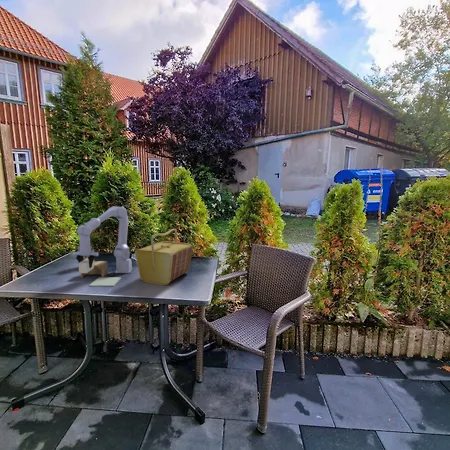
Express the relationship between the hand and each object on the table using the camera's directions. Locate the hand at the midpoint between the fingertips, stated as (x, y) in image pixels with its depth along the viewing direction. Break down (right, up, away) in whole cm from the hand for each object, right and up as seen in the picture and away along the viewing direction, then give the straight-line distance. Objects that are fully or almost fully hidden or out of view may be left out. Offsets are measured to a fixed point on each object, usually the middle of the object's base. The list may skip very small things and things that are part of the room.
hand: (86, 267), depth 177 cm
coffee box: (-14, -4, +31) cm, 34 cm away
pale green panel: (+11, -9, +1) cm, 15 cm away
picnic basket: (+46, -8, +11) cm, 48 cm away
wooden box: (0, -7, +12) cm, 14 cm away
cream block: (0, -2, 0) cm, 2 cm away
